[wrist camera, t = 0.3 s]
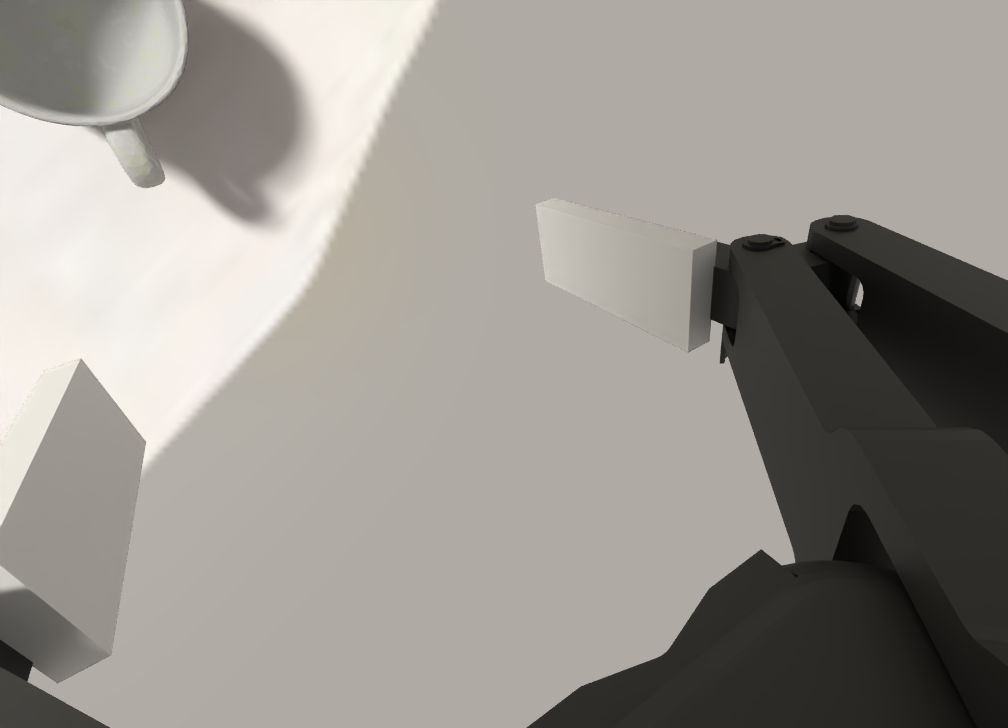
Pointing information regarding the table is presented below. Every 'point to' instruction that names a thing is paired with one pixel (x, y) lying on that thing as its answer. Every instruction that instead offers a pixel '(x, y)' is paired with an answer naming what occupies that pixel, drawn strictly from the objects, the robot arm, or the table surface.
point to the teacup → (95, 68)
